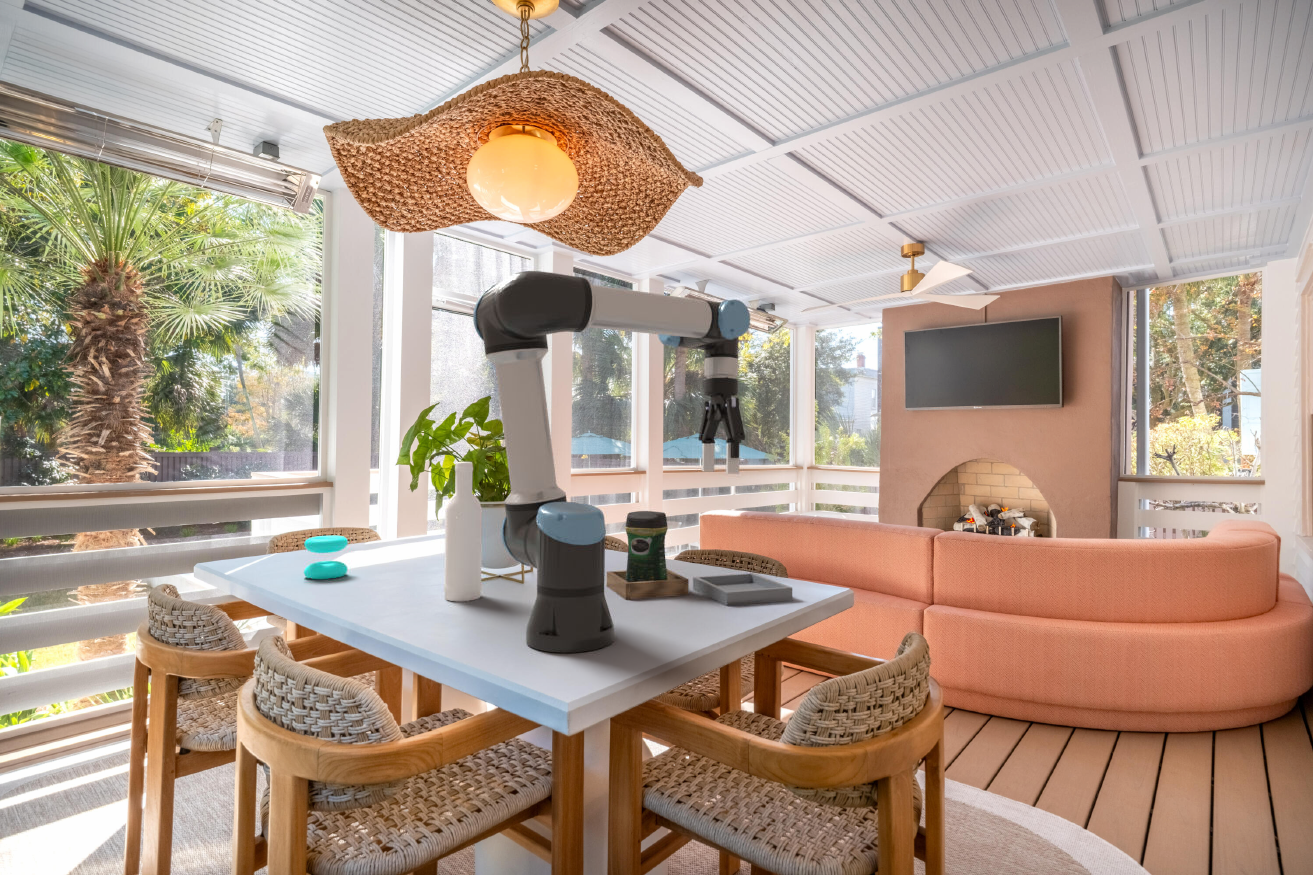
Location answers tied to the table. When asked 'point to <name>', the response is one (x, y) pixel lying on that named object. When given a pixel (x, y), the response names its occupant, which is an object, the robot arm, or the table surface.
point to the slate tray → (742, 589)
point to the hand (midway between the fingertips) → (719, 472)
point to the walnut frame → (647, 586)
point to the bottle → (463, 539)
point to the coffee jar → (646, 546)
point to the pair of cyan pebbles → (325, 567)
